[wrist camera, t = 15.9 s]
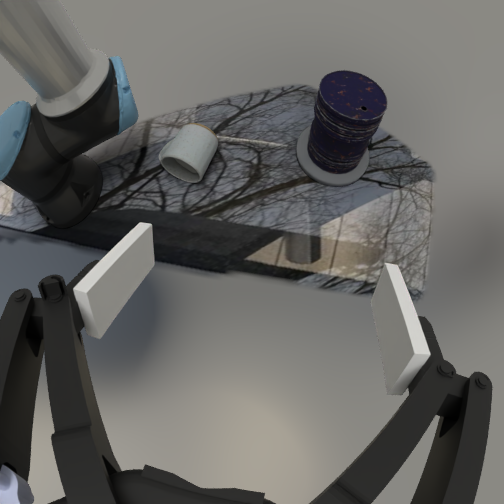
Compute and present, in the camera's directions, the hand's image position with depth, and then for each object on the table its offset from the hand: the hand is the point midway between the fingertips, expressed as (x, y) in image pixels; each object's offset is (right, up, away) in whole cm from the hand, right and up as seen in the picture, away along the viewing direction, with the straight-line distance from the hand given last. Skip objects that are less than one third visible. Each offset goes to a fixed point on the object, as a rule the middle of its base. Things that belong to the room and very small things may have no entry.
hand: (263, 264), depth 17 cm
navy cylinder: (+14, +18, +34) cm, 41 cm away
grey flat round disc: (+14, +18, +35) cm, 42 cm away
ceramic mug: (-12, +16, +36) cm, 42 cm away
